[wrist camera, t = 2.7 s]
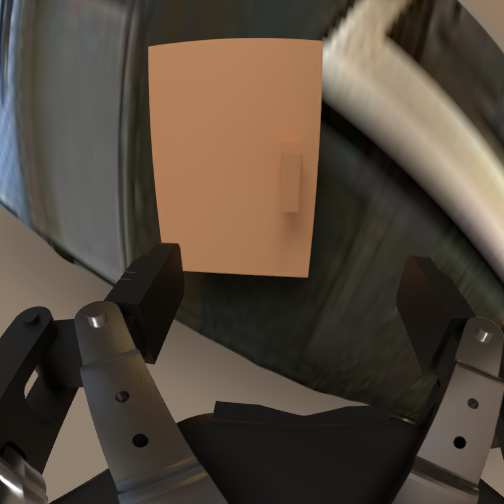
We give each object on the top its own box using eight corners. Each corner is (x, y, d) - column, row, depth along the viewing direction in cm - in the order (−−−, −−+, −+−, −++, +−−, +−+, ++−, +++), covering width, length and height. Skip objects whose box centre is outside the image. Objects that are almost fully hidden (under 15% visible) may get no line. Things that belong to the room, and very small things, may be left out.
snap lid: (319, 44, 22) (332, 29, 15) (306, 266, 31) (310, 311, 25) (157, 49, 23) (120, 40, 17) (171, 259, 32) (147, 300, 26)
